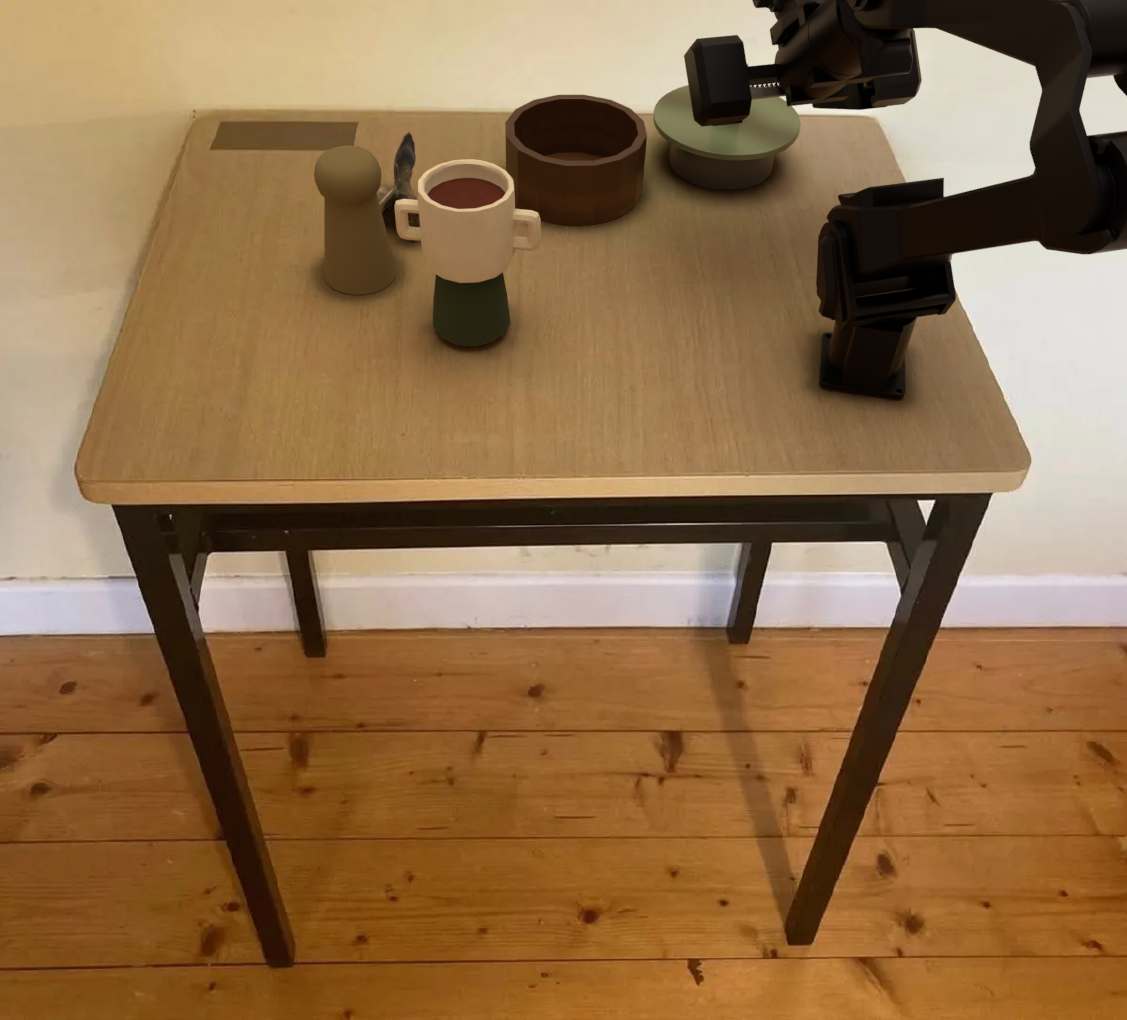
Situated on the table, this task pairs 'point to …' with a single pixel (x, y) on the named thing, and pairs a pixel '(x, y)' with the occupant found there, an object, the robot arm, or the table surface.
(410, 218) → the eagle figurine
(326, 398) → the table surface
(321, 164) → the brown pawn
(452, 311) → the character mug
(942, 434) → the table surface
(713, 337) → the table surface
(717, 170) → the disc
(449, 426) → the table surface
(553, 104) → the brown round pot
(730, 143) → the lid
